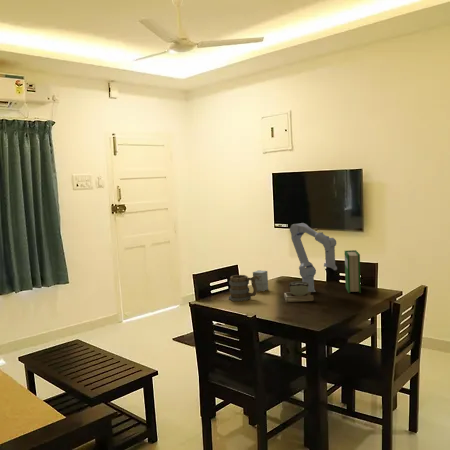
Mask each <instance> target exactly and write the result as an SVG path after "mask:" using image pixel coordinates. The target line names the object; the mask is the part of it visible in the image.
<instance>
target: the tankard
mask: <svg viewBox="0 0 450 450" xmlns="http://www.w3.org/2000/svg"><path fill="white" fill-rule="evenodd" d="M255 279H258V280H259V279H260V277H259V276H257V275H256V276H254V277H253V276H252V277H249V276H247V275H245V274H235V275H231V276H230V277H229V281H228V284H229V286H230V288H229V293H230V295H229V296H228V299H229V300H230V301H232V302H243V301H244V300H245V301H248V299H249V300H250V299H251V298H252V297H255V296H256V295H257V293H258V291H257V287H256V284H255ZM250 283H251V286H252V289H253V292H250V288H249V284H250Z"/></svg>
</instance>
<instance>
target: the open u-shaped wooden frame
mask: <svg viewBox="0 0 450 450" xmlns="http://www.w3.org/2000/svg"><path fill="white" fill-rule="evenodd" d="M283 293H284V294H283V295H284V296H283V297H284V299H285V302H286V303H292V302H293V303H294V302H312V301H314V295H313V294H312V292H308V296H291V292H283Z"/></svg>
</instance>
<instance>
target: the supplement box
mask: <svg viewBox="0 0 450 450" xmlns="http://www.w3.org/2000/svg"><path fill="white" fill-rule="evenodd" d="M256 275H257V276H259V277H260V279H259V280H258V279H255V284H256V287H257V292H260V291H263V292H265V290H266V291H268V290H269V280H268V279H269V277H268V270H262V269H261V270H255V271H252V277H254V276H256Z"/></svg>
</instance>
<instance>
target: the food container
mask: <svg viewBox="0 0 450 450" xmlns="http://www.w3.org/2000/svg"><path fill="white" fill-rule="evenodd" d="M308 286H309V284H308V283H307V282H302V281H292V282H289V284H288V287H289V291H290V292H291V296H308Z"/></svg>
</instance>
